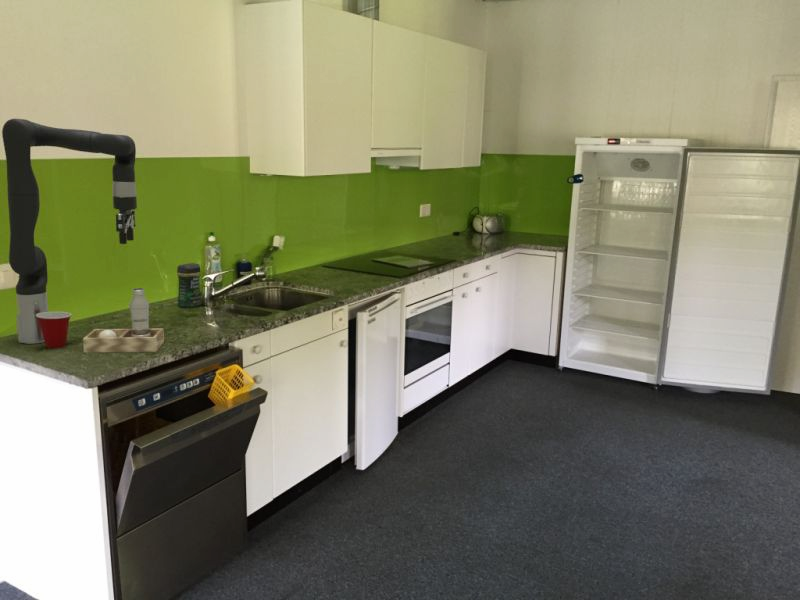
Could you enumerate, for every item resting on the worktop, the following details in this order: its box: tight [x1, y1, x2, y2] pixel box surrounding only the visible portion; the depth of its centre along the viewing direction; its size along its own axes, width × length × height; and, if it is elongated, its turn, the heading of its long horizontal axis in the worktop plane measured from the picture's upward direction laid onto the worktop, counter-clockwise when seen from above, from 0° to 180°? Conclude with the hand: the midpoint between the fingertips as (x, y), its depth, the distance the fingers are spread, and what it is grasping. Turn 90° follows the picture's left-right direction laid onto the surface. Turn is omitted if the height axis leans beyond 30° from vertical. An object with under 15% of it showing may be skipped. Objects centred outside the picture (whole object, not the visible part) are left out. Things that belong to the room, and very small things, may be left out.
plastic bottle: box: [128, 287, 151, 337], centre depth 227 cm, size 6×7×20 cm
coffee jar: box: [176, 262, 203, 309], centre depth 290 cm, size 10×8×19 cm
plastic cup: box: [36, 311, 73, 349], centre depth 228 cm, size 11×11×12 cm
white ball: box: [98, 330, 117, 338], centre depth 227 cm, size 6×6×6 cm
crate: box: [82, 327, 165, 354], centre depth 228 cm, size 23×12×6 cm, turn 98°
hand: (126, 242), depth 233 cm, fingers open, 8 cm apart
